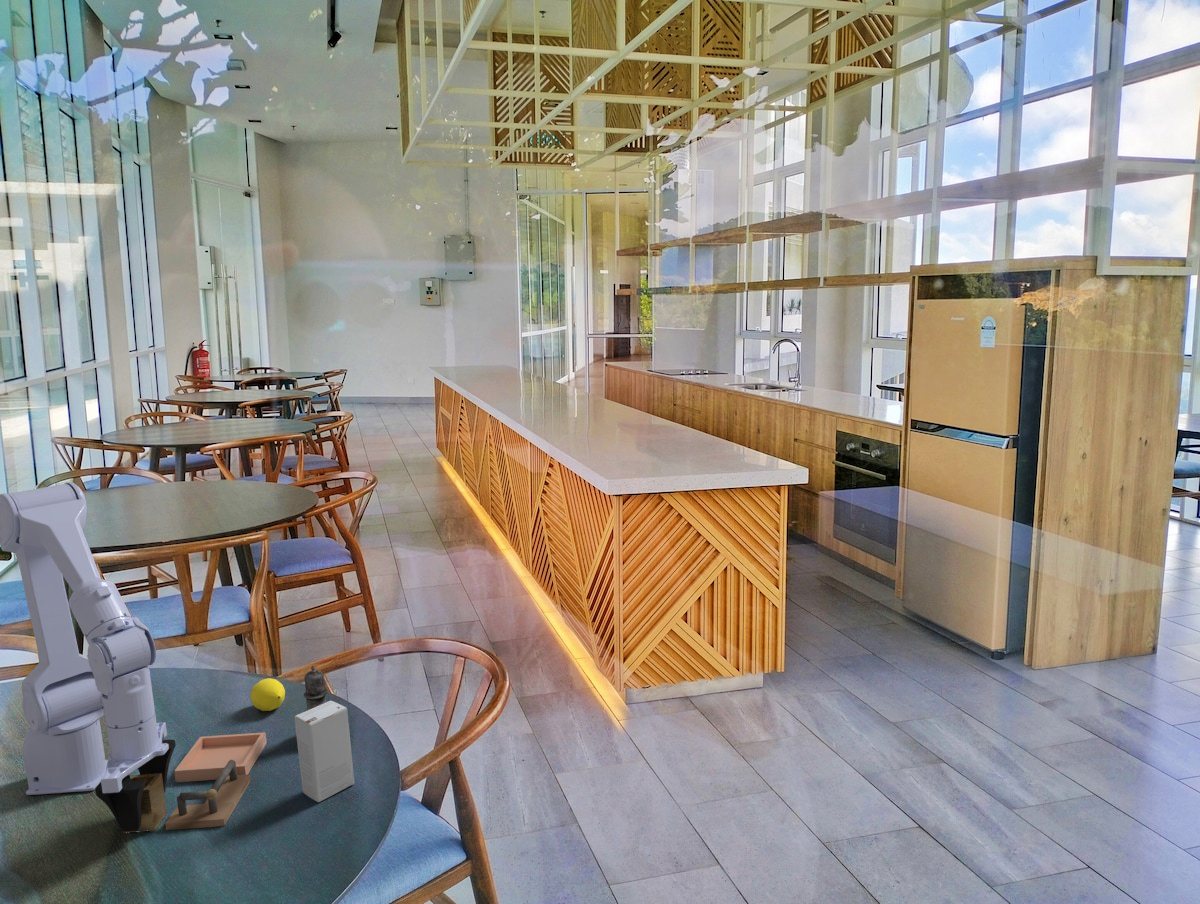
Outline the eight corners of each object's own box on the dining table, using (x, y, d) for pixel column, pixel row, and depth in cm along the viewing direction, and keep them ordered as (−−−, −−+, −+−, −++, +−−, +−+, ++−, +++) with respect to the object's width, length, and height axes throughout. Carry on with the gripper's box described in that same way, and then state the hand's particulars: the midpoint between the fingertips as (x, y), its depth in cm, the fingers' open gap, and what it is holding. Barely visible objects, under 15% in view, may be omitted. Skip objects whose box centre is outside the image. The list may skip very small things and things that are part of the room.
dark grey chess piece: (327, 747, 134) (320, 674, 132) (293, 744, 136) (285, 672, 134) (345, 728, 140) (339, 658, 138) (312, 726, 141) (305, 657, 139)
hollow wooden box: (123, 833, 114) (117, 791, 113) (136, 815, 118) (131, 775, 117) (154, 831, 114) (148, 789, 113) (167, 813, 118) (161, 773, 117)
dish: (175, 782, 126) (174, 771, 125) (201, 747, 136) (200, 736, 135) (246, 777, 127) (244, 766, 126) (266, 742, 136) (265, 732, 136)
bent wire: (166, 830, 114) (162, 801, 114) (197, 784, 125) (194, 757, 124) (224, 825, 115) (220, 797, 114) (250, 780, 126) (247, 753, 125)
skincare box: (338, 775, 126) (331, 697, 124) (356, 785, 123) (349, 706, 121) (300, 794, 122) (292, 714, 120) (318, 805, 119) (309, 723, 117)
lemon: (246, 712, 148) (240, 682, 148) (275, 701, 152) (270, 671, 152) (266, 719, 143) (260, 688, 143) (295, 707, 147) (290, 676, 147)
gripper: (137, 743, 106) (151, 843, 109) (184, 691, 121) (195, 780, 123) (78, 747, 106) (93, 847, 108) (131, 694, 120) (144, 784, 123)
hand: (144, 812), depth 116 cm, fingers open, 7 cm apart
